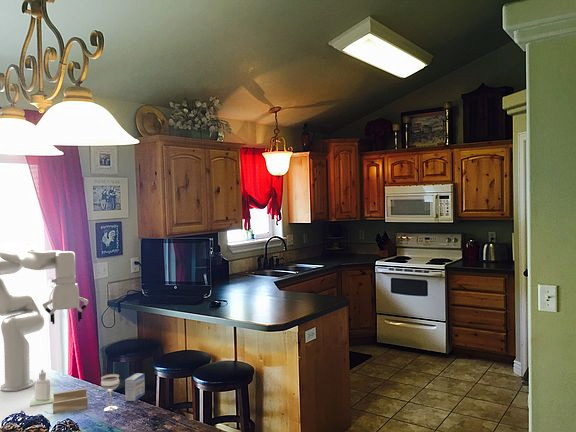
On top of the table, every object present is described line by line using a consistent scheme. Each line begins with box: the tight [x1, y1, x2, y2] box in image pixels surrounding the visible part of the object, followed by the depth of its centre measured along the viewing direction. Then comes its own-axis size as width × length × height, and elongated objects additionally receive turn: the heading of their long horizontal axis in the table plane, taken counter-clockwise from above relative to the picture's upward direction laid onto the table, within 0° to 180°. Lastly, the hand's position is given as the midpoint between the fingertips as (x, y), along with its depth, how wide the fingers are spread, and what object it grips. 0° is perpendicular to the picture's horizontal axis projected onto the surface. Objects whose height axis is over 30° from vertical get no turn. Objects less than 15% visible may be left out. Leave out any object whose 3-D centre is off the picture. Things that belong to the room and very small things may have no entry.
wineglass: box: [100, 373, 120, 412], centre depth 182 cm, size 7×7×12 cm
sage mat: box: [29, 393, 54, 408], centre depth 191 cm, size 9×9×1 cm
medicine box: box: [124, 372, 146, 402], centre depth 193 cm, size 8×4×9 cm, turn 168°
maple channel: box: [52, 388, 89, 415], centre depth 185 cm, size 11×12×4 cm
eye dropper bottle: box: [34, 368, 51, 401], centre depth 191 cm, size 4×6×12 cm
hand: (66, 322), depth 197 cm, fingers open, 9 cm apart
